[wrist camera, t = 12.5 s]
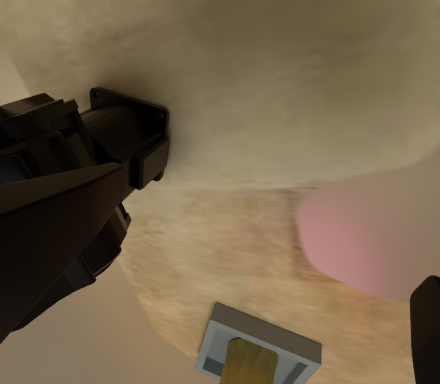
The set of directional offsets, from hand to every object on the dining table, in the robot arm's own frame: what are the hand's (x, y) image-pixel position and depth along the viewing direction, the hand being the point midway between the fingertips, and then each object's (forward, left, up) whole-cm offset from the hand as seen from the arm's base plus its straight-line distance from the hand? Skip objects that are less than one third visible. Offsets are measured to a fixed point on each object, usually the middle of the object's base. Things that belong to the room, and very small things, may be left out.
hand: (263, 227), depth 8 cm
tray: (+5, -29, -13) cm, 32 cm away
